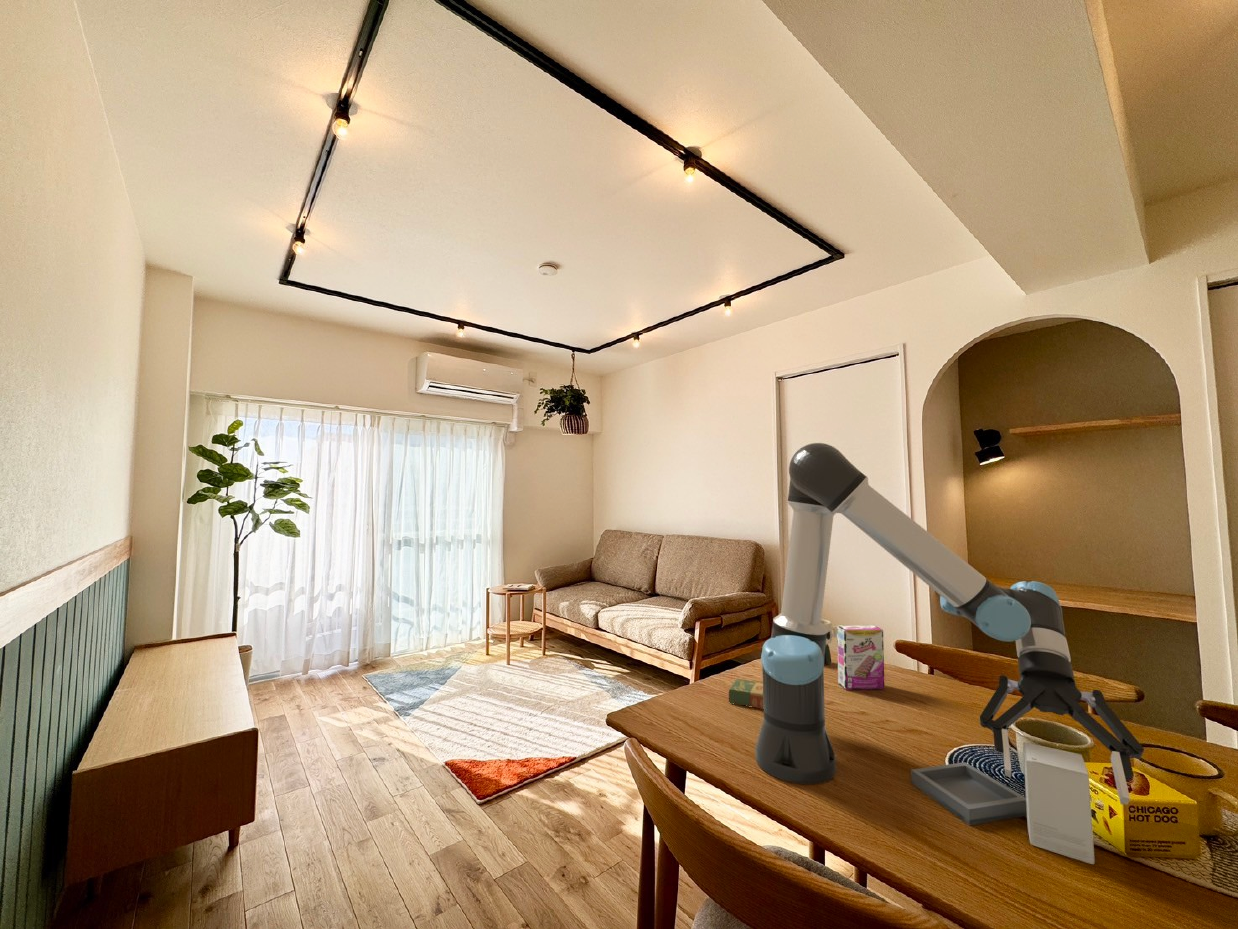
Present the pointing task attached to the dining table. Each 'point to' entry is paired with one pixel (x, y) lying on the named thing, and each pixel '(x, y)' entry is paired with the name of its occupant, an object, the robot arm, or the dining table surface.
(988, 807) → the holder tray
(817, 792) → the dining table surface
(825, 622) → the character mug
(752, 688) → the carton
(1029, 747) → the supplement box
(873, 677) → the candy bar box
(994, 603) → the robot arm
